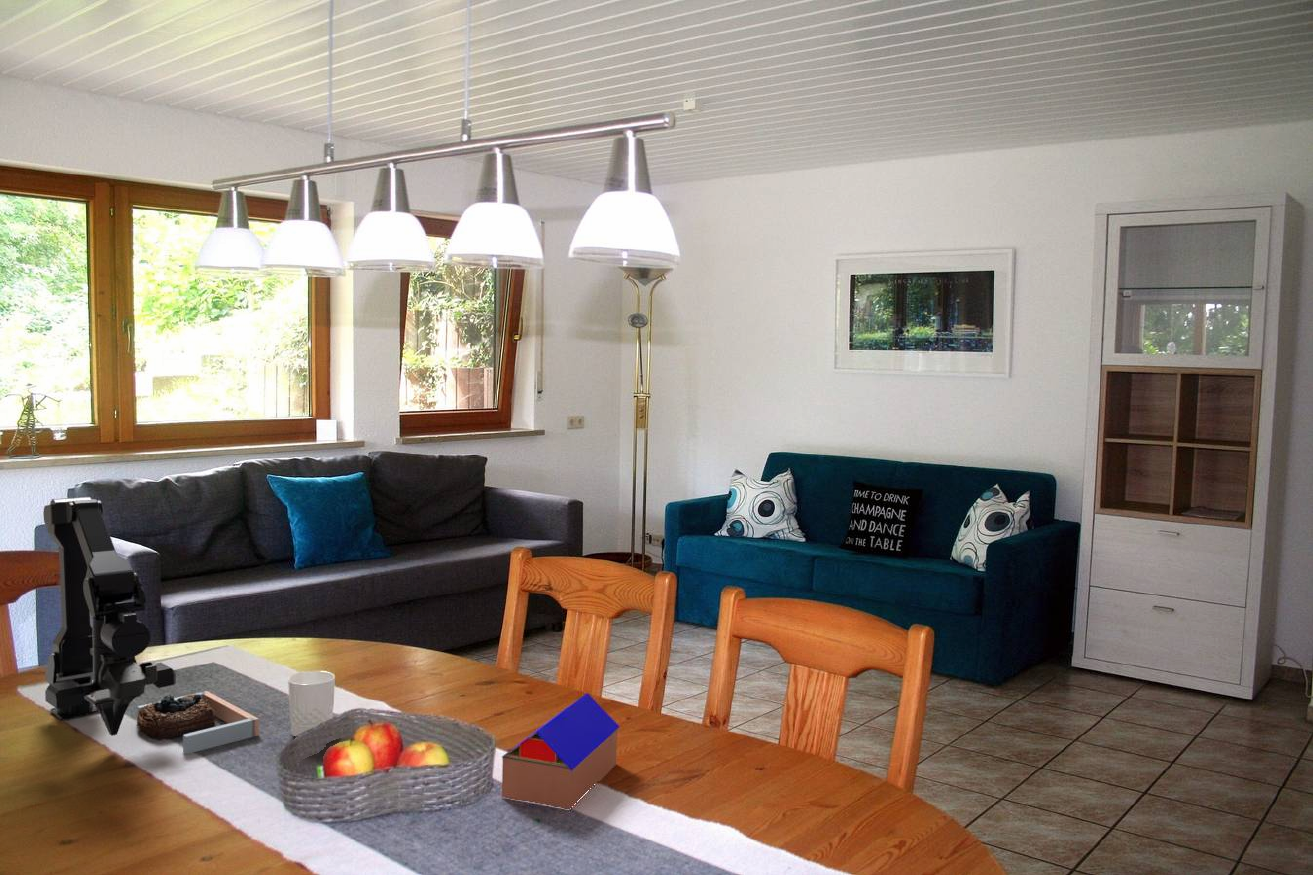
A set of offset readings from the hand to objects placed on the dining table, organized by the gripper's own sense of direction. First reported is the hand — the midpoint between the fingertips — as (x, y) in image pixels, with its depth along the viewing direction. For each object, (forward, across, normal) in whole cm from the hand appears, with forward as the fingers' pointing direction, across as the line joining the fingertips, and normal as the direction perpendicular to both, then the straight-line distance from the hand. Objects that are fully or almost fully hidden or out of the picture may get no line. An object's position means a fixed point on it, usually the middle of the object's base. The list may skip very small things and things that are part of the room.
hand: (113, 734), depth 173 cm
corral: (+2, +14, 0) cm, 14 cm away
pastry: (+3, +12, +3) cm, 13 cm away
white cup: (+3, +28, -15) cm, 32 cm away
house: (+3, +45, -61) cm, 76 cm away
